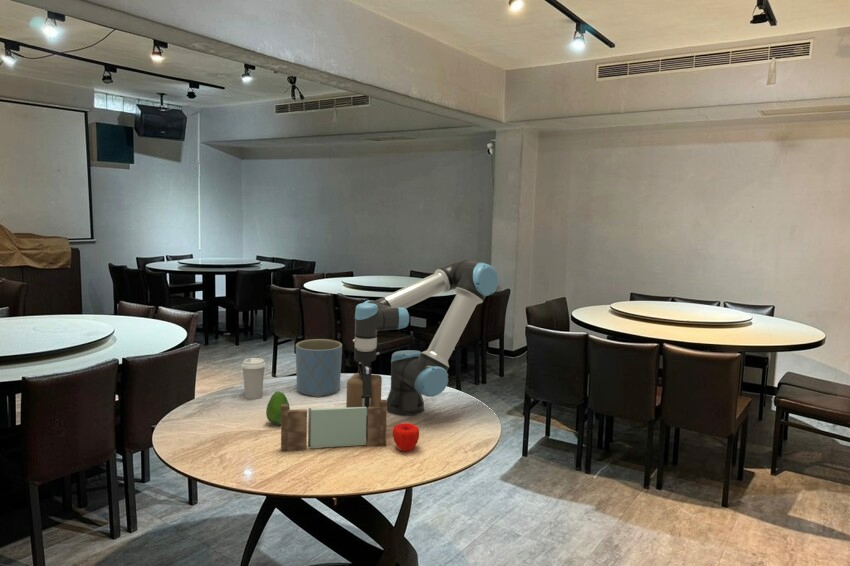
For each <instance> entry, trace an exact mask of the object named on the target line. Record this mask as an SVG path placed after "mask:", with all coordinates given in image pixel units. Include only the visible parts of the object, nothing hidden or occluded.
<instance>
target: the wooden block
mask: <svg viewBox="0 0 850 566" xmlns="http://www.w3.org/2000/svg"><path fill="white" fill-rule="evenodd" d="M382 381H383V378H382V376H381V375H379V374H372V373H371V387H372V398H371V406H380V400H382ZM361 396H363V381H362V379H361V375H360V374H359V373H358V372H356V373H354V374H353V375H352V376H351V377H350V378H348V380H347V381H346V398H345V399H346V403H345V404H346V406H345V408H347V407H362V398H361ZM367 420H368V416H366V439H367Z"/></svg>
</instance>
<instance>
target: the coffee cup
mask: <svg viewBox="0 0 850 566" xmlns="http://www.w3.org/2000/svg"><path fill="white" fill-rule="evenodd" d="M266 366H267V365H266V362H265V360H264V359H263V358H261V357H259V358H258V357H250V358H246V359H244V360H243V361H242V362H241V365H240V367H241V368H242V377H243V386H244V387H243V389H244V398H245V399H246V400H260V399H262V397H263V389H264V387H263V386H264V377H265V369H266V368H265V367H266Z"/></svg>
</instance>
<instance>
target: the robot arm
mask: <svg viewBox="0 0 850 566" xmlns="http://www.w3.org/2000/svg"><path fill="white" fill-rule="evenodd" d="M498 287H499V277H498V271H497V270H496V268H494V267H493V266H492V265H490V264H488V263H485V262H479V261H473V260H468V259H467V260H466V259H461V260H457V261H454V262H452V263H449V264H446V265H443V266H442V267H439V268H437V269H436V270H435V271H434V273H432V274H430V275H429V276H426V277H424V278H422V279H420V280H418V281H415V282H413V283H411V284H408V285H407V286H404V287H403V288H400V289H398V290H396V291H394V292H391V293H389V294H387V295H385V296H383V297H380V298H378V299H376V300H372V299H371V300H370V299H369V300H366V301H364V302H362V303H358V304H357V305H356V306H355V311H354V312H355V313H354V339H352V342H353V343H354V350H353V352H354V353H353V359H354V361H356V362H358V365H357V366H358V369H357V373H359V374H360V375H361V379H362V381H363V396H361V398H362V407H366V408H367V414H366V416H368V407H369V406H371V398H372V387H371V374H372V366H371V364H370V363H371V362H375V361H376V360H377V350H376V349H377V347H378V346H377V345H378V332H380V331H390V330H392V331H393V330H401V329H405V328H406V327H408V326H409V323H410V313H409V312H408V309H409V307H412V306H414V305H416V304H418V303H420V302H422V301H425V300H427V299H428V298H432V297H433V296H435V295H437V294H439V293H442V292H444V293H448V292H450V291H452V290H455V292H456V295H455V296H454V299H453V300H452V302H451V304H450V306H449V308H448V310H447V311H446V314H445V315H444V318H443V319H442V321H441V324H440V325H439V327H438V328H437V330H436V332H435V334H434V336H433V338H432V339H431V342H430V343H429V346H428V348H427V349H426V350H424V351H422V352H421V351H420V350H413V349H412V350H411V349H410V350H397V351H395V352H393V353H392V354H391V360H390V363H391V365H390V366H391V367H390V389H389V393H388V395H387V397H386V401H387V413H389V414H392V415H395V416H396V415H397V416H414V415H419V414H421V413H423V412H424V411H425V402H424V398H423V396H425V397H428V398H431V397H435V396H437V395H440V394H441V393H442V392H444V391H445V389H446V388H447V386H448V383H449V378H448V377H449V373H448V370H449V369H450V365H449V359H450V357H451V356H452V354H453V351H454V349H455V347H456V345H457V343H458V342H459V340H460V339H461V338H460V337H461V336H462V334H463V332H464V331H465V328H466V327H467V324H468V322H469V321H470V318H471V316H472V314H473V312H474V311H475V309H476V306H477V305H479V304H482V303H483V302H484V300H485V298H486V297H487V296H490V295H493V294H494V293H495V291H496V290H497V288H498Z"/></svg>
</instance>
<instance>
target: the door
mask: <svg viewBox="0 0 850 566" xmlns="http://www.w3.org/2000/svg"><path fill="white" fill-rule="evenodd" d="M366 414H367V408H366V407H347V408H346V407H334V408H333V407H331V408H330V407H328V408H325V407H324V408H311V407H309V408H308V415H307V448H310V449H311V448H313V449H314V448H331V447H333V448H334V447H344V446H345V447H347V446H348V447H349V446H363V445H366V446H367V438H366Z"/></svg>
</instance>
